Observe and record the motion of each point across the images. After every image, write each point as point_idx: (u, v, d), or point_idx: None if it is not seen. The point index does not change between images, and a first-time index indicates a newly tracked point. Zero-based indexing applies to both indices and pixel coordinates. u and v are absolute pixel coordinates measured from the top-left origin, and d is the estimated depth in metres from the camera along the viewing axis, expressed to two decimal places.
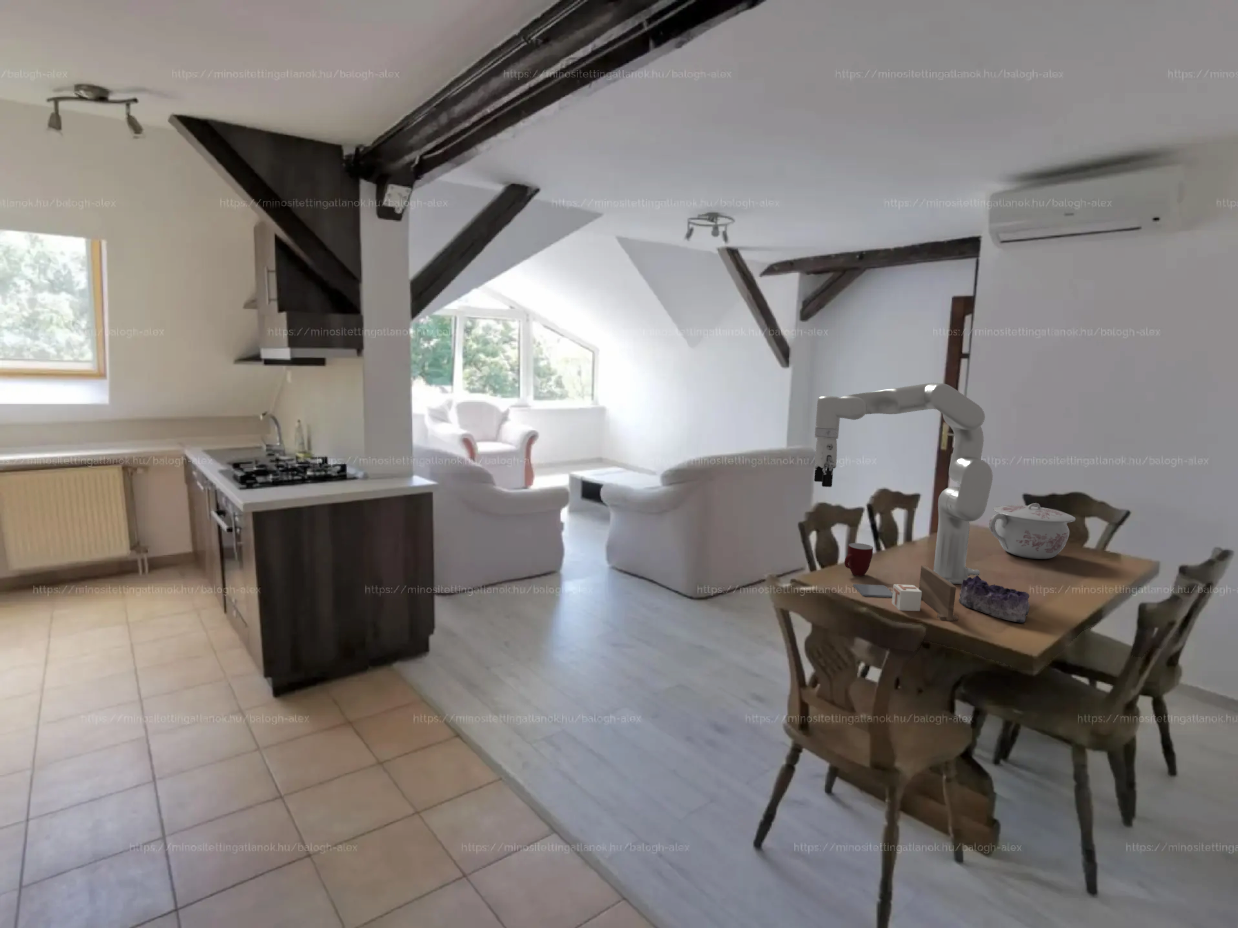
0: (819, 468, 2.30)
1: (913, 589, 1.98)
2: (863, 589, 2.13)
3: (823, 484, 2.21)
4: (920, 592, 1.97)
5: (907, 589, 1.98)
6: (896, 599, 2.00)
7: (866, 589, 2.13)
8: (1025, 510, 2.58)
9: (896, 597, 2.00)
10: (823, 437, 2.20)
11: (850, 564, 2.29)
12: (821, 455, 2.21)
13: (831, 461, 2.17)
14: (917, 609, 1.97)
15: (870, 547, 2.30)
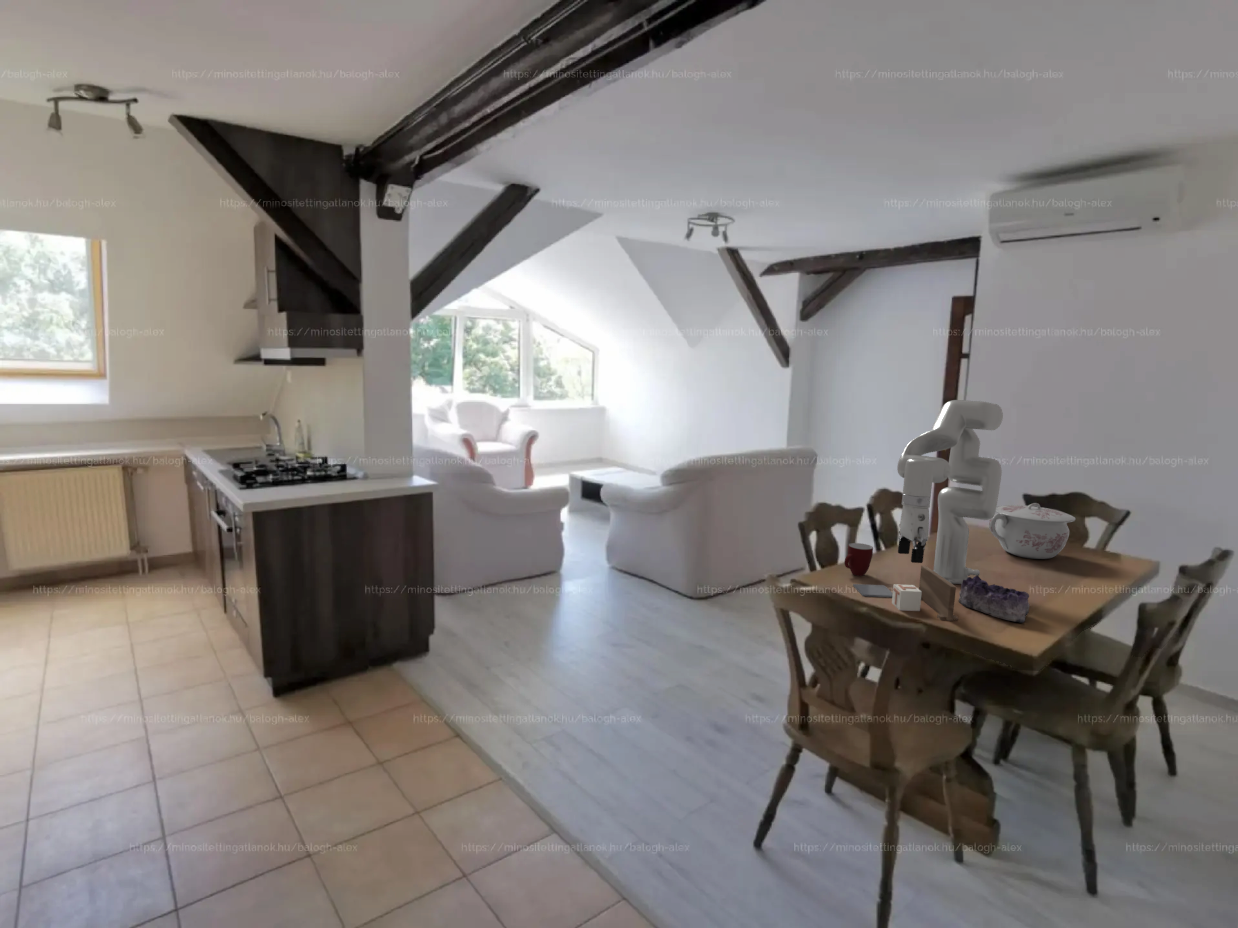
0: (904, 538, 2.02)
1: (913, 589, 1.98)
2: (863, 589, 2.13)
3: (913, 560, 1.93)
4: (920, 592, 1.97)
5: (907, 589, 1.98)
6: (896, 599, 2.00)
7: (866, 589, 2.13)
8: (1025, 510, 2.58)
9: (896, 597, 2.00)
10: (913, 506, 1.93)
11: (850, 564, 2.29)
12: (911, 526, 1.93)
13: (924, 534, 1.89)
14: (917, 609, 1.97)
15: (870, 547, 2.30)
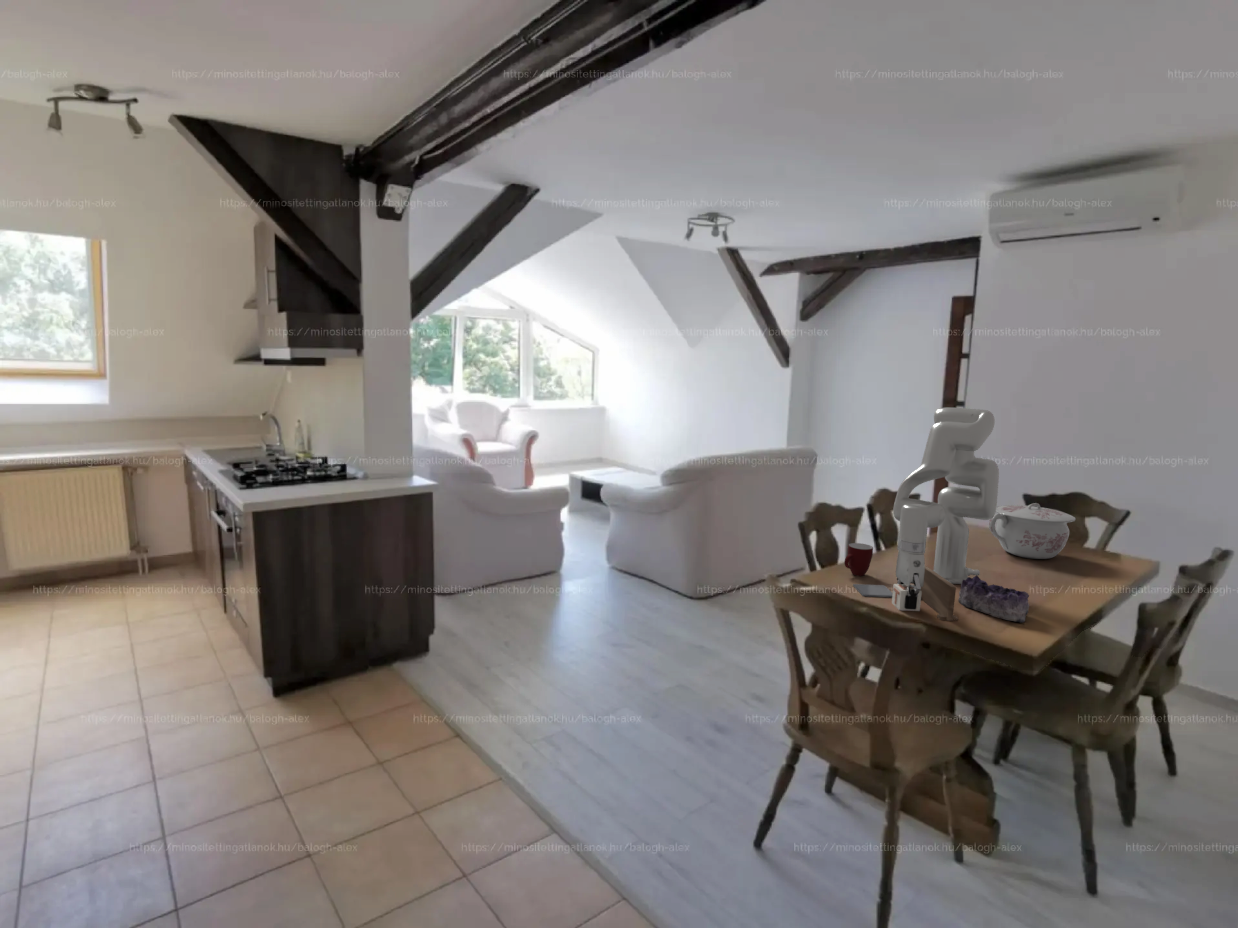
0: None
1: None
2: (863, 589, 2.13)
3: (906, 606, 1.97)
4: (920, 592, 1.97)
5: None
6: (896, 599, 2.00)
7: (866, 589, 2.13)
8: (1025, 510, 2.58)
9: (896, 597, 2.00)
10: (909, 552, 1.95)
11: (850, 564, 2.29)
12: (906, 572, 1.95)
13: (918, 584, 1.92)
14: (917, 609, 1.97)
15: (870, 547, 2.30)
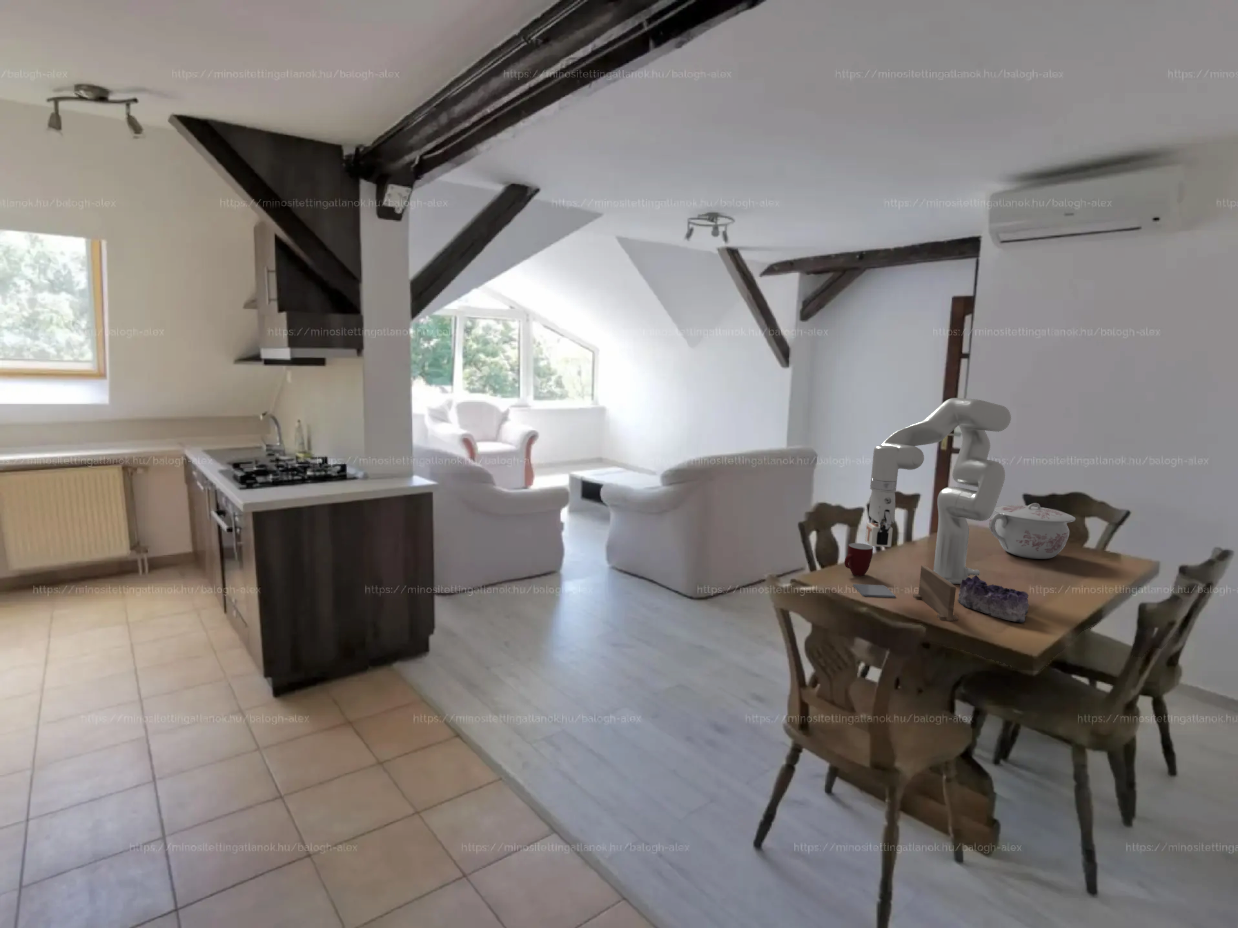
0: None
1: None
2: (863, 589, 2.13)
3: (878, 542, 2.07)
4: (891, 528, 2.07)
5: None
6: (868, 536, 2.10)
7: (866, 589, 2.13)
8: (1025, 510, 2.58)
9: (869, 534, 2.10)
10: (880, 490, 2.05)
11: (850, 564, 2.29)
12: (878, 509, 2.06)
13: (889, 520, 2.03)
14: (888, 545, 2.08)
15: (870, 547, 2.30)
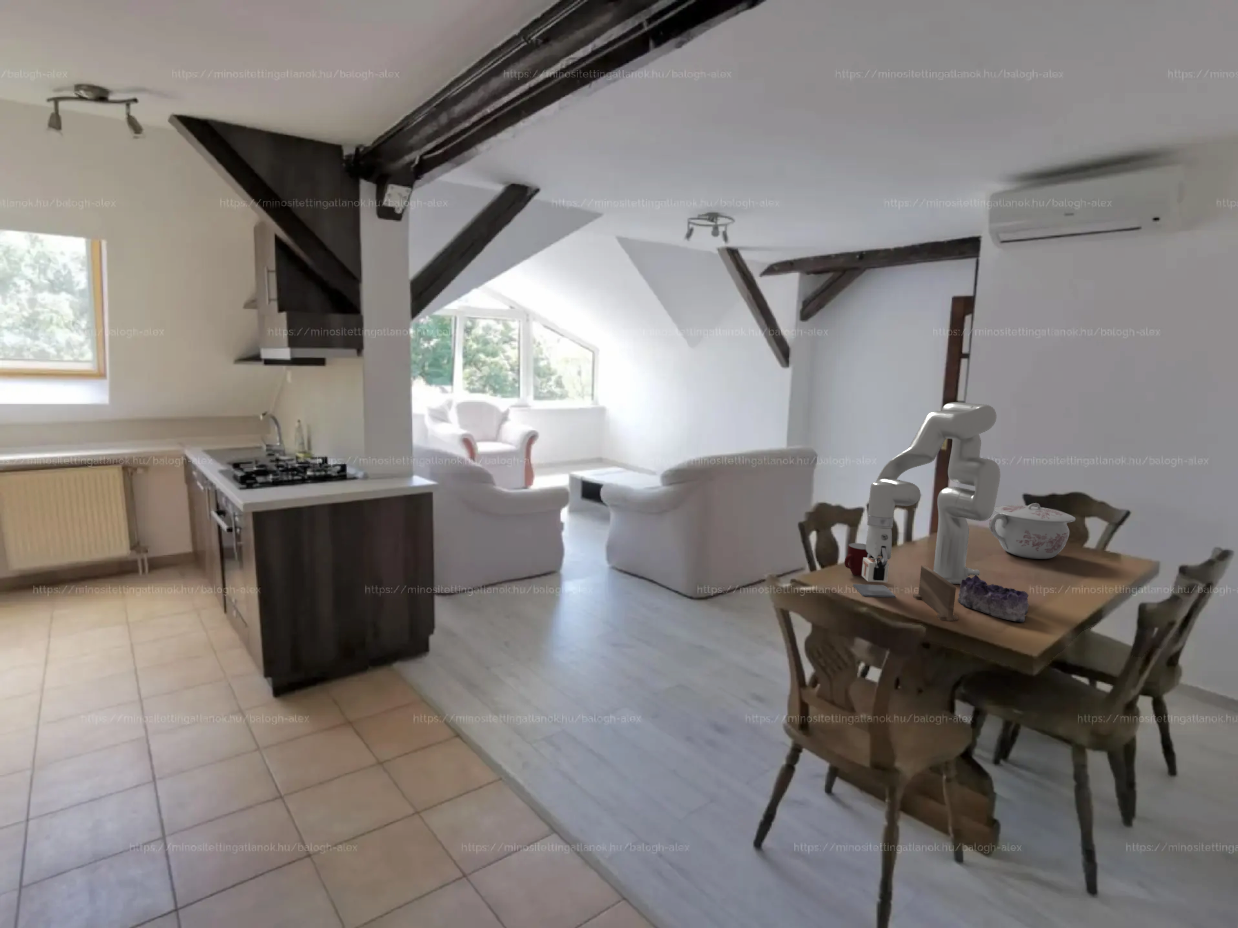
0: None
1: None
2: (863, 589, 2.13)
3: (875, 577, 2.09)
4: (887, 564, 2.09)
5: None
6: (865, 571, 2.12)
7: (866, 589, 2.13)
8: (1025, 510, 2.58)
9: (865, 569, 2.12)
10: (877, 526, 2.07)
11: (850, 564, 2.29)
12: (875, 545, 2.07)
13: (885, 556, 2.04)
14: (884, 580, 2.10)
15: None
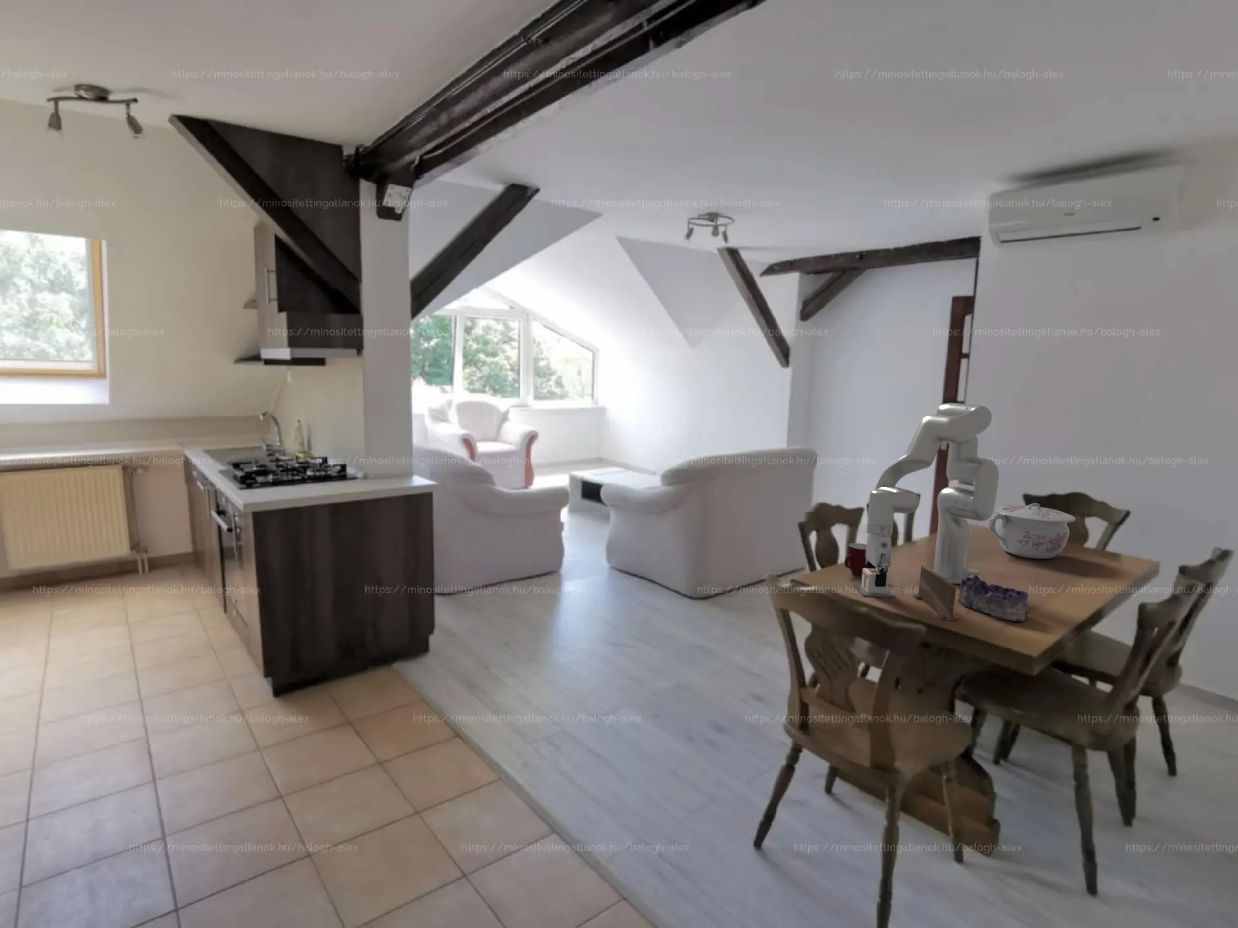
0: (870, 563, 2.17)
1: None
2: (863, 589, 2.13)
3: (876, 584, 2.08)
4: (887, 575, 2.10)
5: (875, 572, 2.11)
6: (865, 582, 2.13)
7: None
8: (1025, 510, 2.58)
9: (865, 580, 2.13)
10: (876, 534, 2.07)
11: (850, 564, 2.29)
12: (874, 553, 2.08)
13: (886, 561, 2.04)
14: (884, 591, 2.10)
15: None
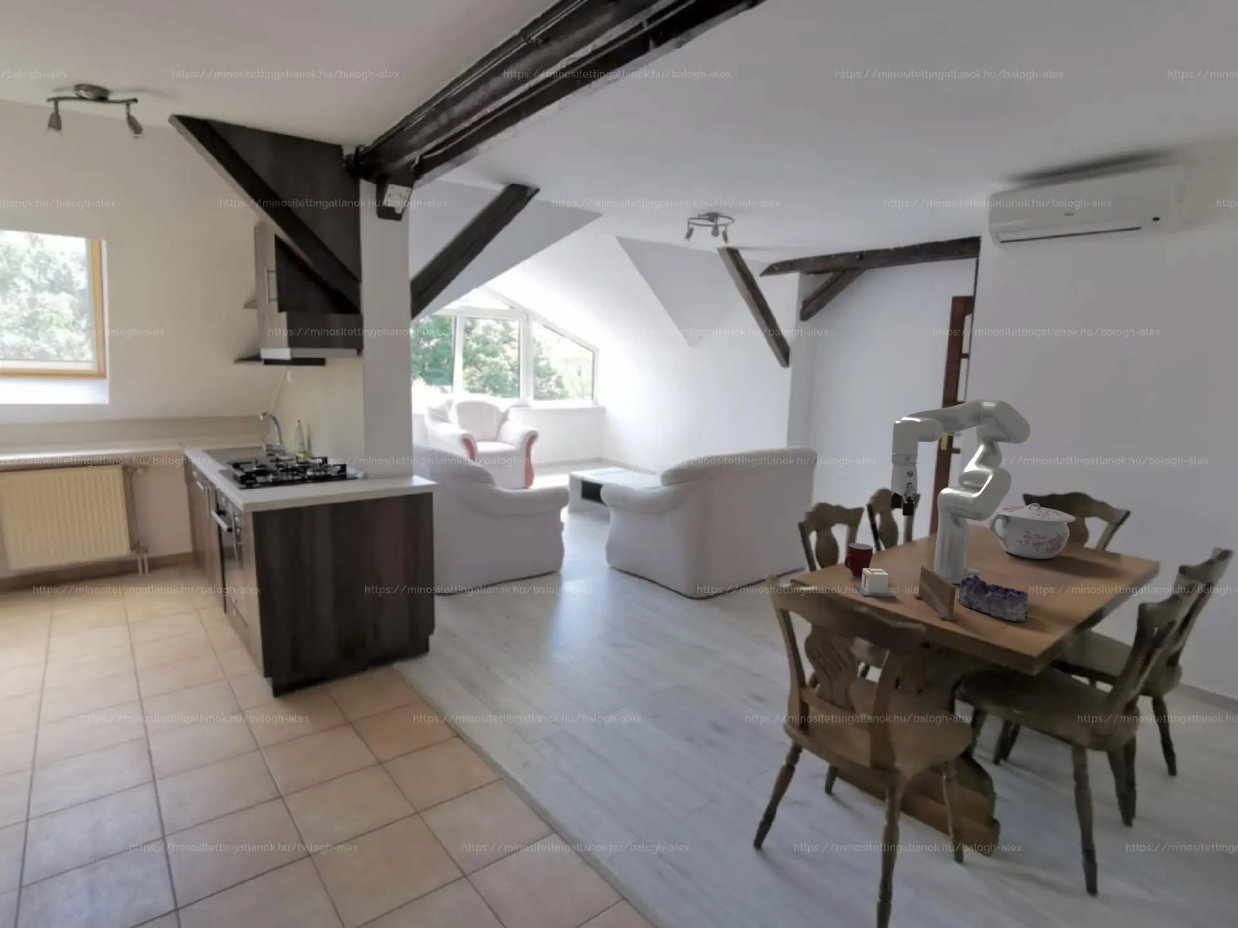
0: (896, 494, 2.19)
1: (880, 572, 2.11)
2: (863, 589, 2.13)
3: (904, 513, 2.10)
4: (887, 575, 2.10)
5: (875, 572, 2.11)
6: (865, 582, 2.13)
7: None
8: (1025, 510, 2.58)
9: (865, 580, 2.13)
10: (902, 464, 2.09)
11: (850, 564, 2.29)
12: (900, 483, 2.09)
13: (913, 489, 2.06)
14: (884, 591, 2.10)
15: (870, 547, 2.30)
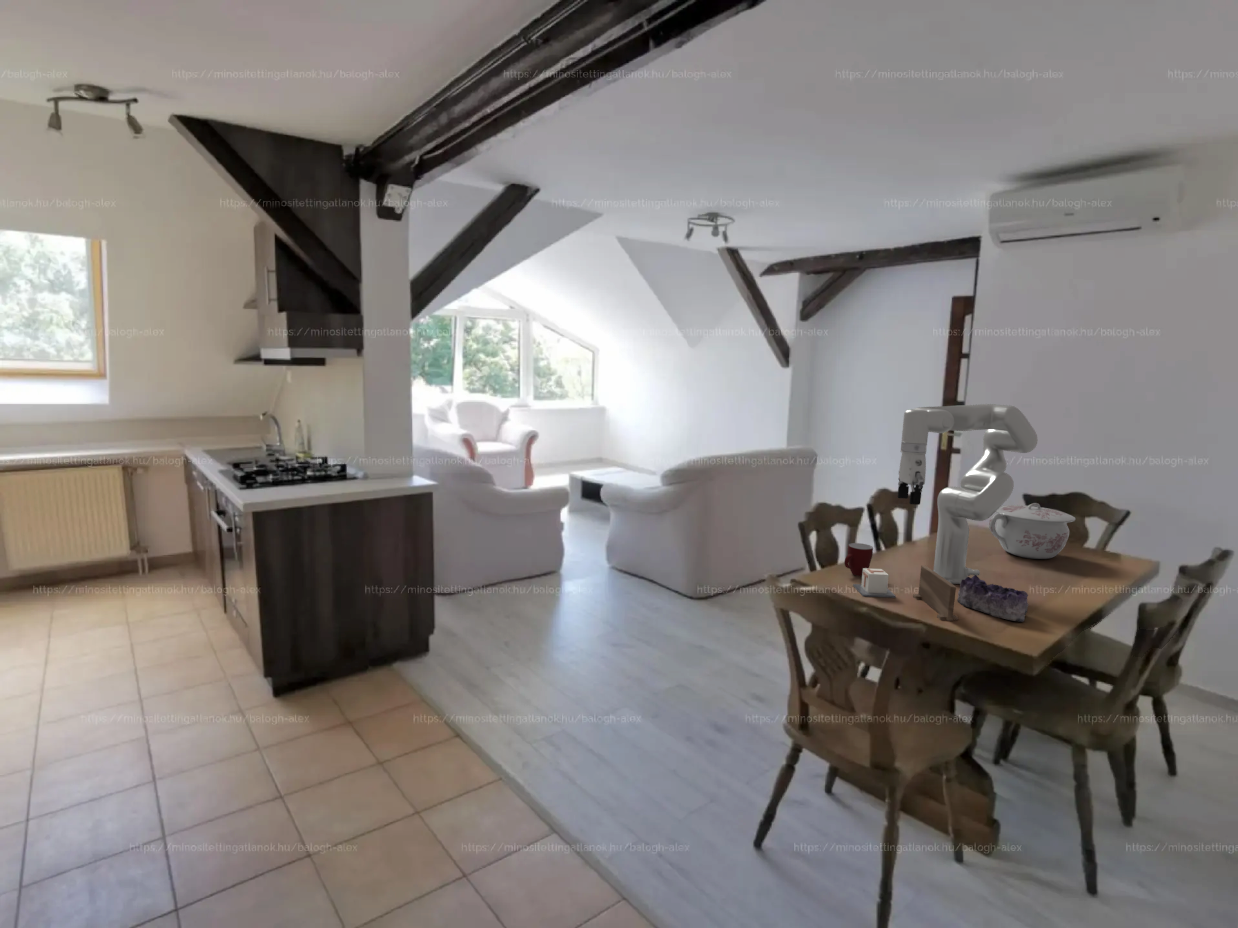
0: (903, 484, 2.20)
1: (880, 572, 2.11)
2: (863, 589, 2.13)
3: (911, 502, 2.11)
4: (887, 575, 2.10)
5: (875, 572, 2.11)
6: (865, 582, 2.13)
7: None
8: (1025, 510, 2.58)
9: (865, 580, 2.13)
10: (911, 452, 2.10)
11: (850, 564, 2.29)
12: (909, 471, 2.11)
13: (921, 478, 2.07)
14: (884, 591, 2.10)
15: (870, 547, 2.30)
